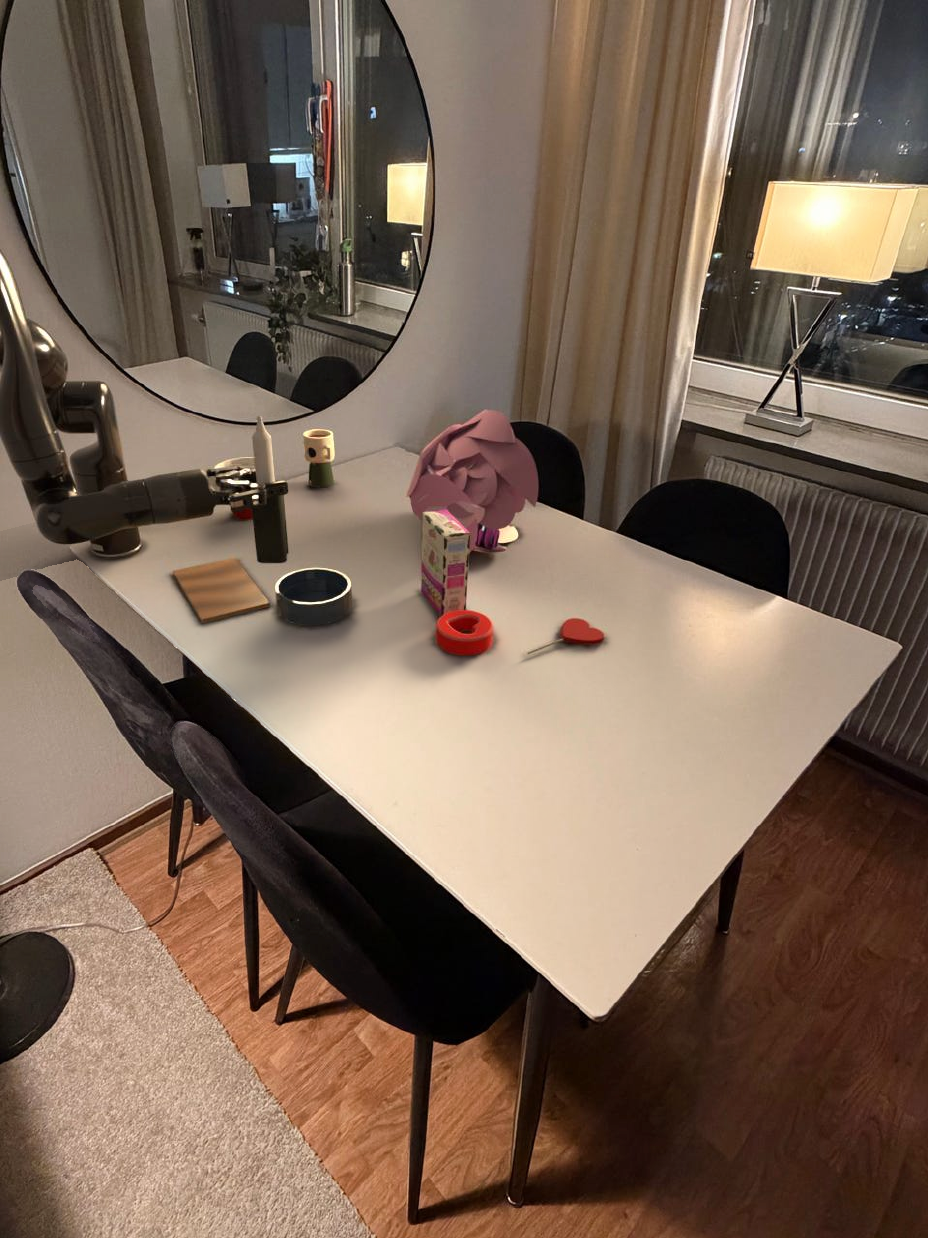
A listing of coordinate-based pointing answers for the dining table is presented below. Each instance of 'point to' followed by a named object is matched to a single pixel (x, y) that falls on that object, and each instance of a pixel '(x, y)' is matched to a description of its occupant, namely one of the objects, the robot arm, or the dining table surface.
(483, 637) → the decorative ornament
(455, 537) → the candy bar box
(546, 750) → the dining table surface
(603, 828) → the dining table surface
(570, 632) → the lollipop
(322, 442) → the character mug
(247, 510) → the plastic cup
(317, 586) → the bowl
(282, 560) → the candle
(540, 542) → the dining table surface
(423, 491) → the flower arrangement
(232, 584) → the mat
